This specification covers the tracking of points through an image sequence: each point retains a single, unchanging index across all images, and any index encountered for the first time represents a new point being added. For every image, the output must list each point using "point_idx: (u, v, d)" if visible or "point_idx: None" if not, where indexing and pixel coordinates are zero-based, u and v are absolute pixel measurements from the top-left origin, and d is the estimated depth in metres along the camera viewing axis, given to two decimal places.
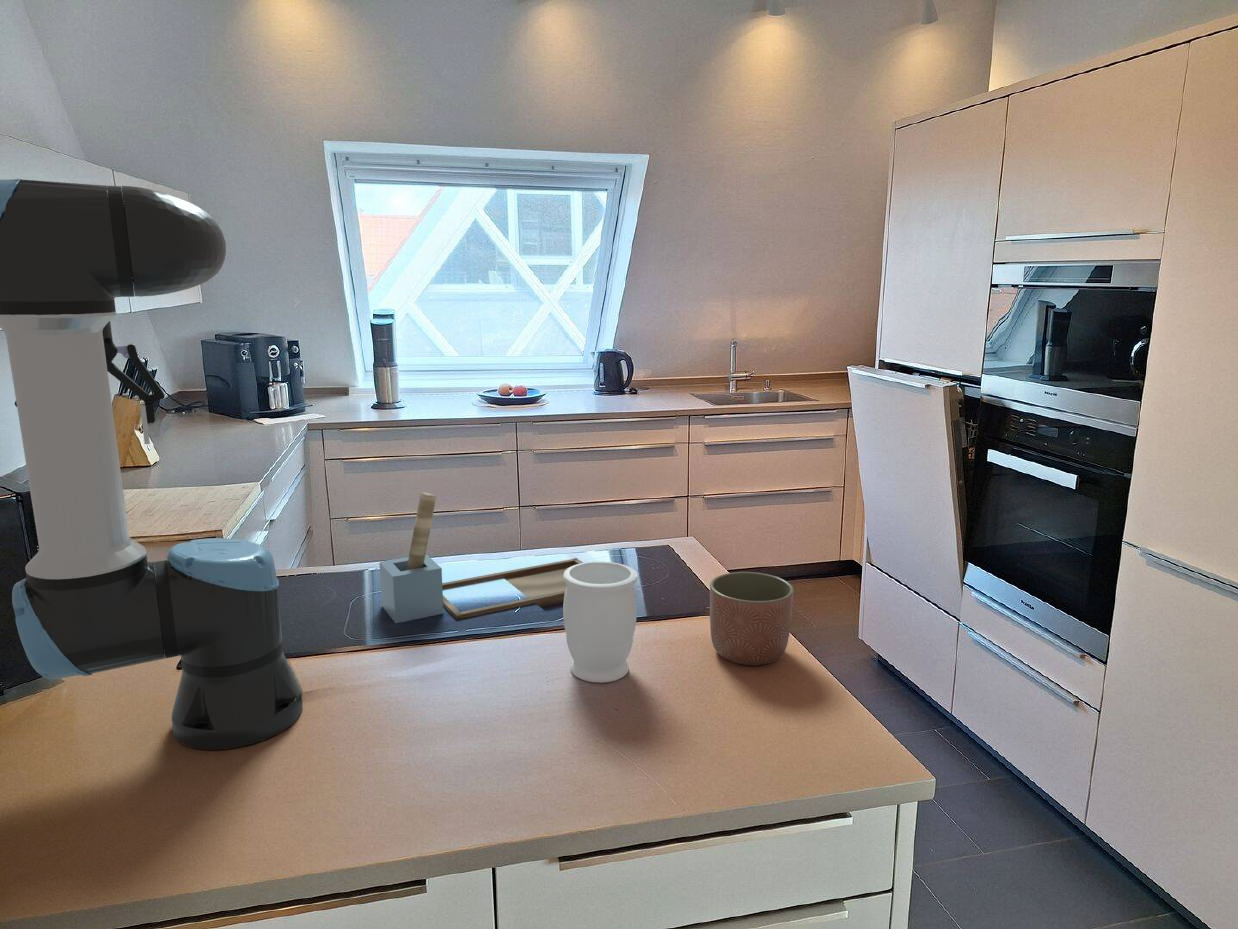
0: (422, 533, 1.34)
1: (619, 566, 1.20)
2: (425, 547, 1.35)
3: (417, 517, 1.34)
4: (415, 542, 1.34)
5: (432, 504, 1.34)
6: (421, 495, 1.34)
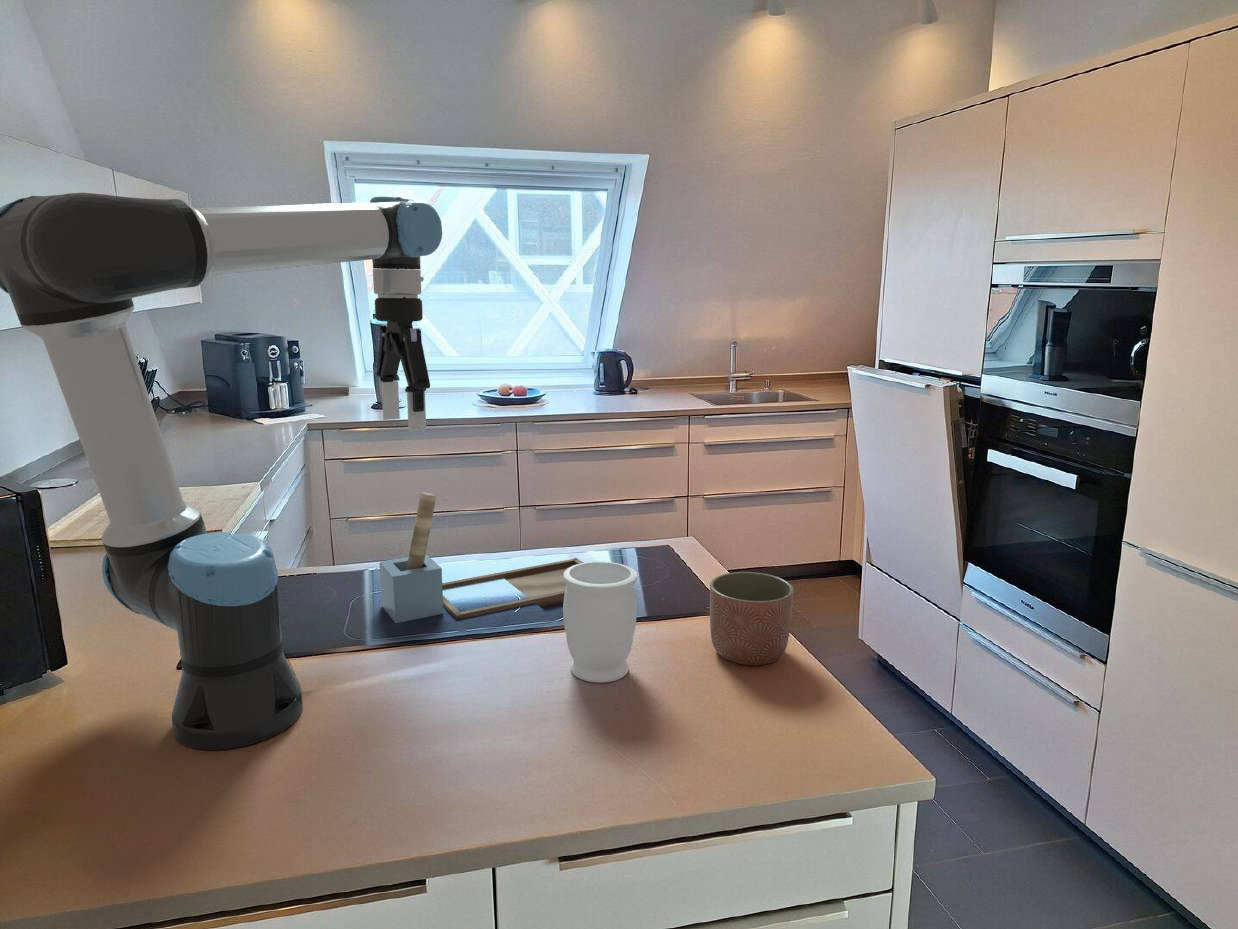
0: (422, 533, 1.34)
1: (619, 566, 1.20)
2: (425, 547, 1.35)
3: (417, 517, 1.34)
4: (415, 542, 1.34)
5: (432, 504, 1.34)
6: (421, 495, 1.34)
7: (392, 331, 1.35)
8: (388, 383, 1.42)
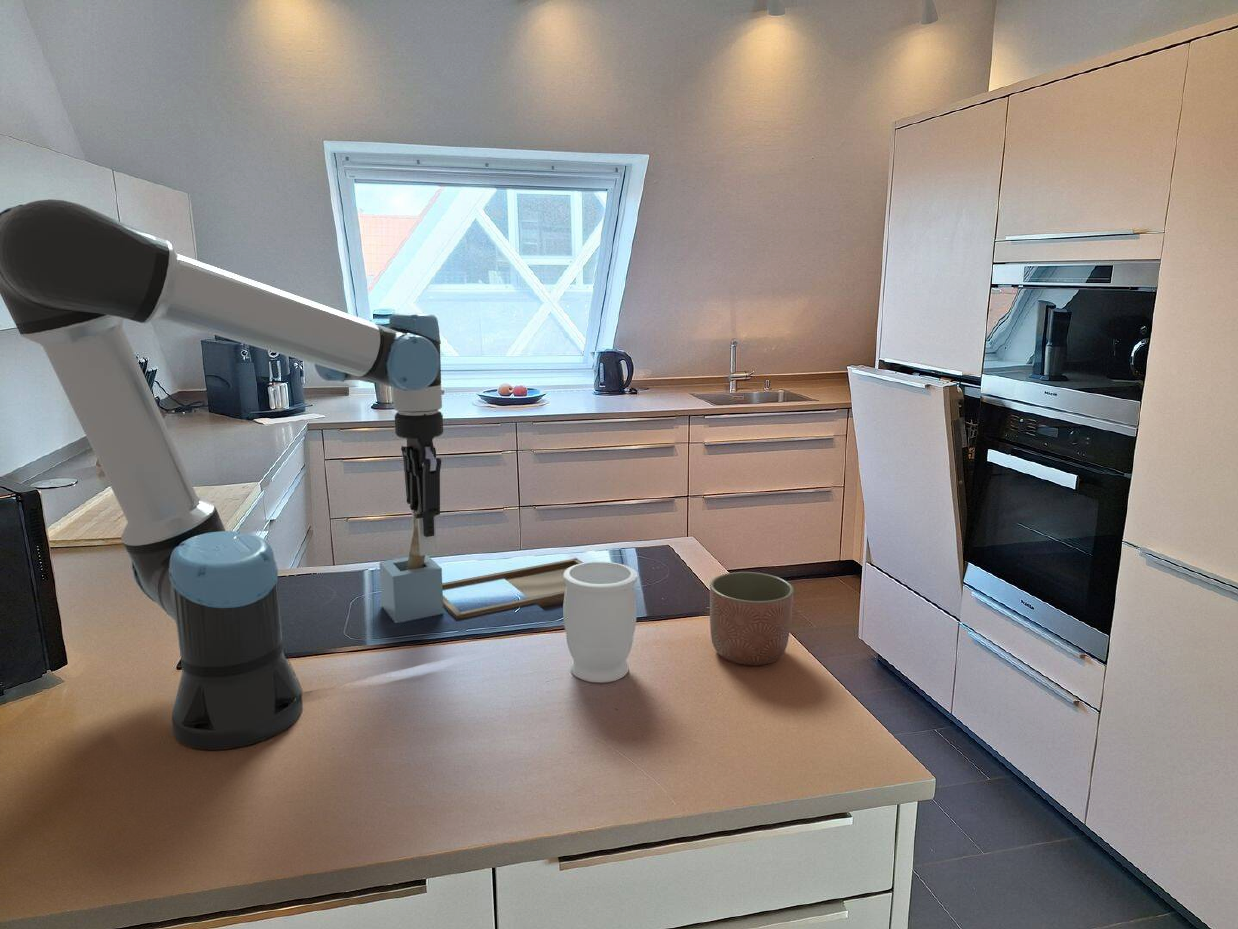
0: None
1: (619, 566, 1.20)
2: None
3: None
4: (415, 542, 1.34)
5: None
6: None
7: None
8: None
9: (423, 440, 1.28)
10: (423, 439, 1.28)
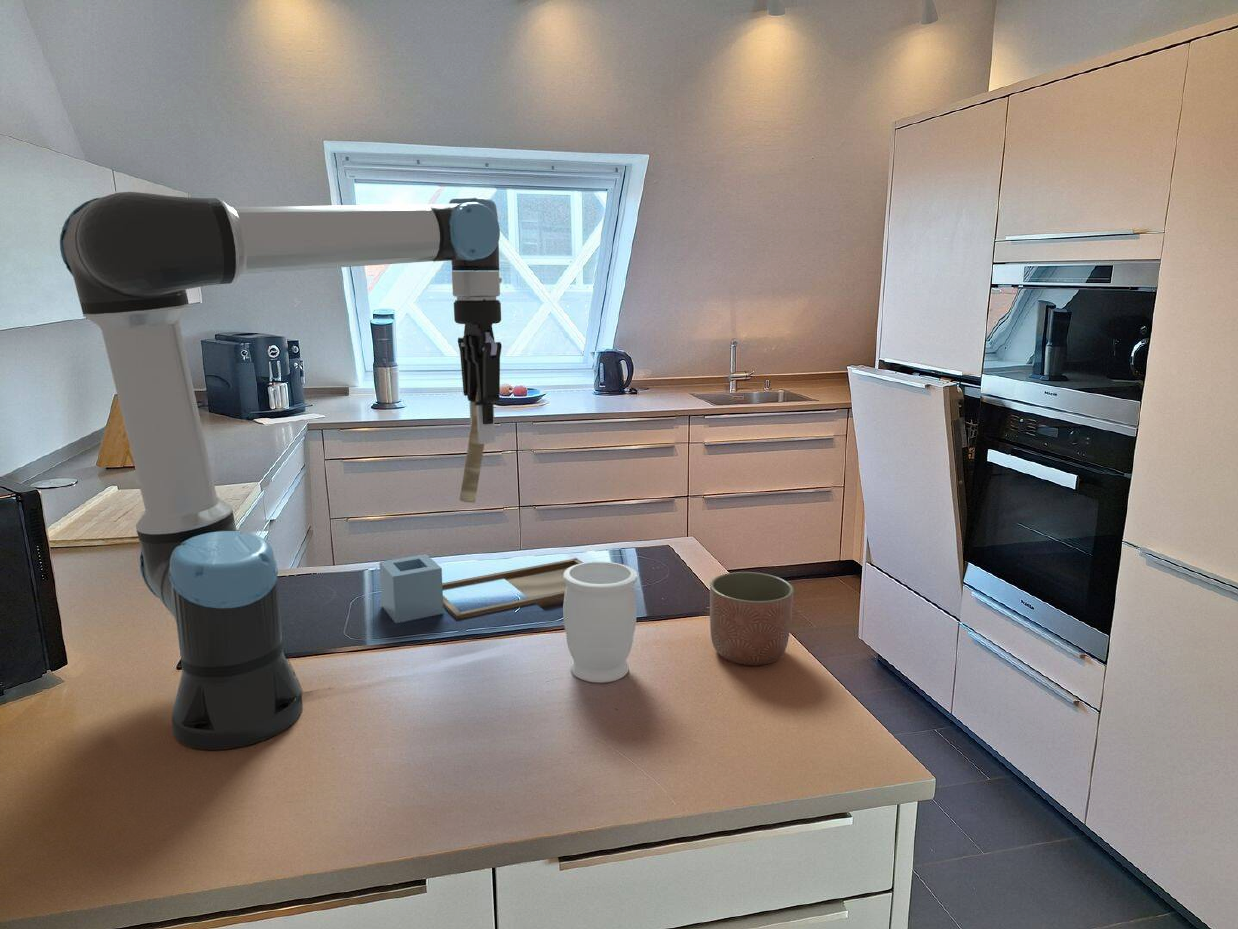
0: None
1: (619, 566, 1.20)
2: None
3: (476, 406, 1.36)
4: (474, 431, 1.36)
5: None
6: None
7: (469, 324, 1.33)
8: None
9: (483, 325, 1.30)
10: (483, 324, 1.30)
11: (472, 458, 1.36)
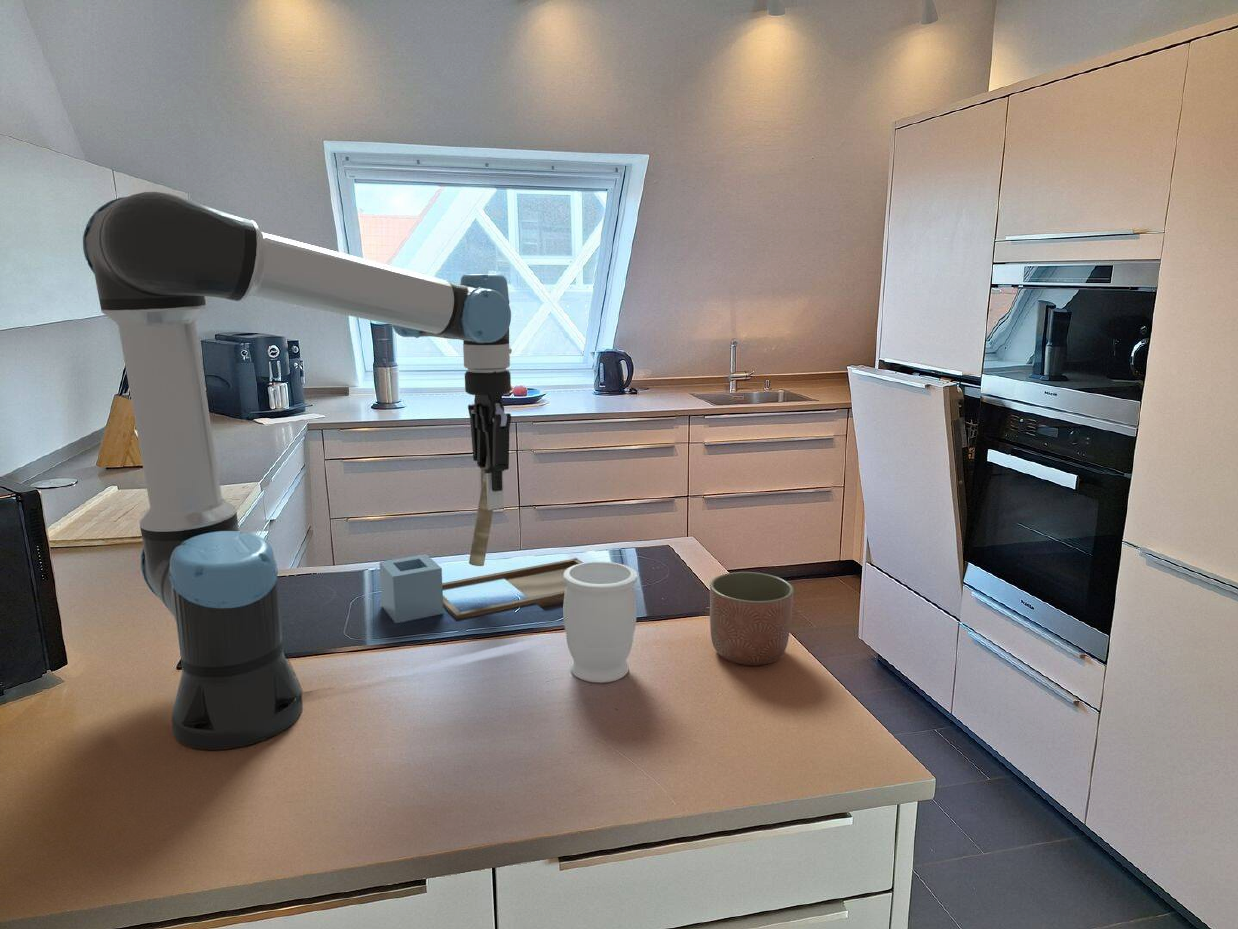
0: None
1: (619, 566, 1.20)
2: None
3: (485, 473, 1.39)
4: (483, 497, 1.39)
5: None
6: None
7: None
8: None
9: (493, 396, 1.33)
10: (493, 395, 1.33)
11: (482, 524, 1.39)
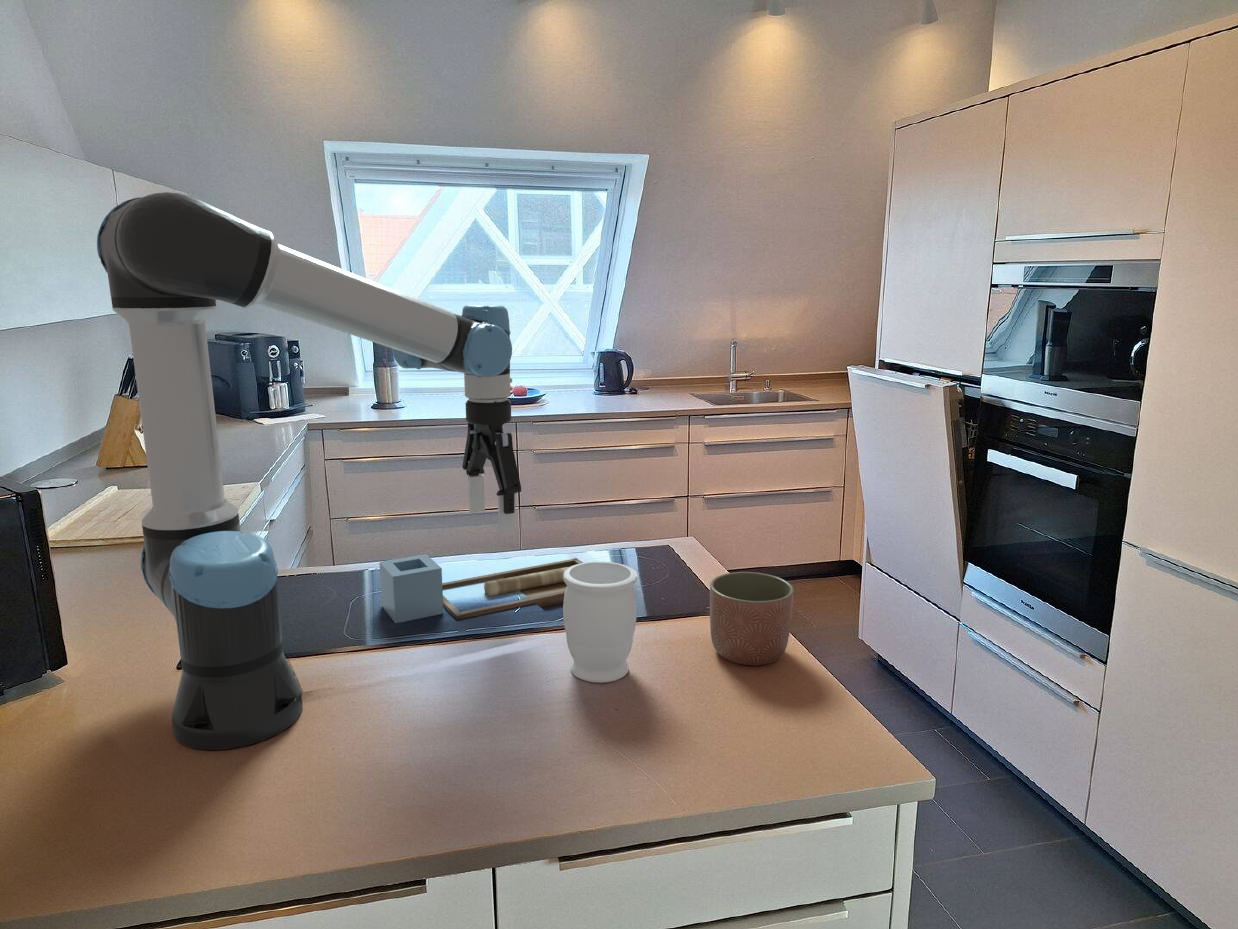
0: (560, 576, 1.49)
1: (619, 566, 1.20)
2: (548, 583, 1.48)
3: None
4: (550, 573, 1.49)
5: None
6: None
7: (482, 432, 1.38)
8: (474, 477, 1.45)
9: None
10: None
11: (527, 580, 1.46)
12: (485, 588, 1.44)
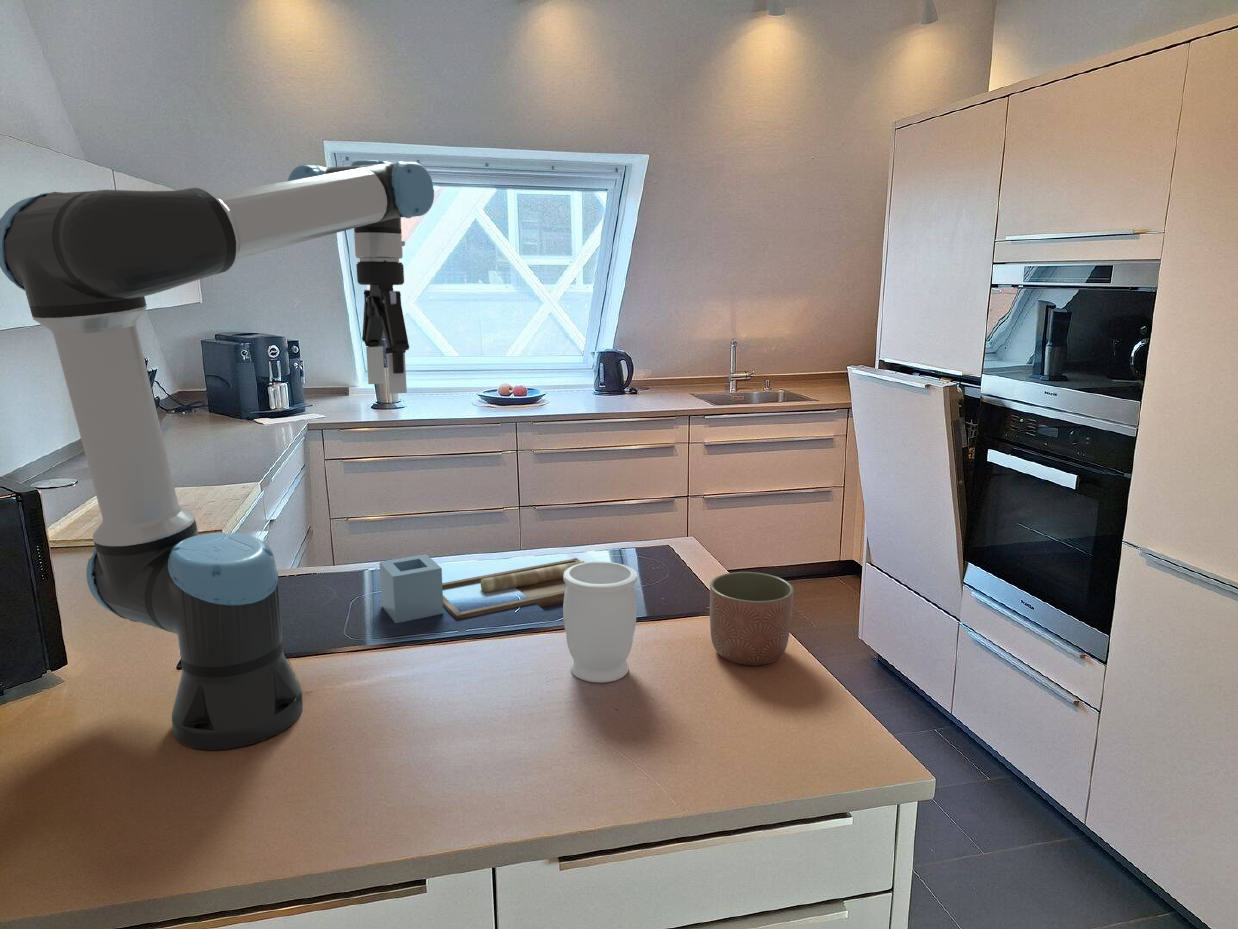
0: (553, 566, 1.51)
1: (619, 566, 1.20)
2: (543, 572, 1.50)
3: None
4: None
5: None
6: None
7: (374, 295, 1.37)
8: (373, 348, 1.44)
9: None
10: None
11: None
12: (483, 589, 1.45)
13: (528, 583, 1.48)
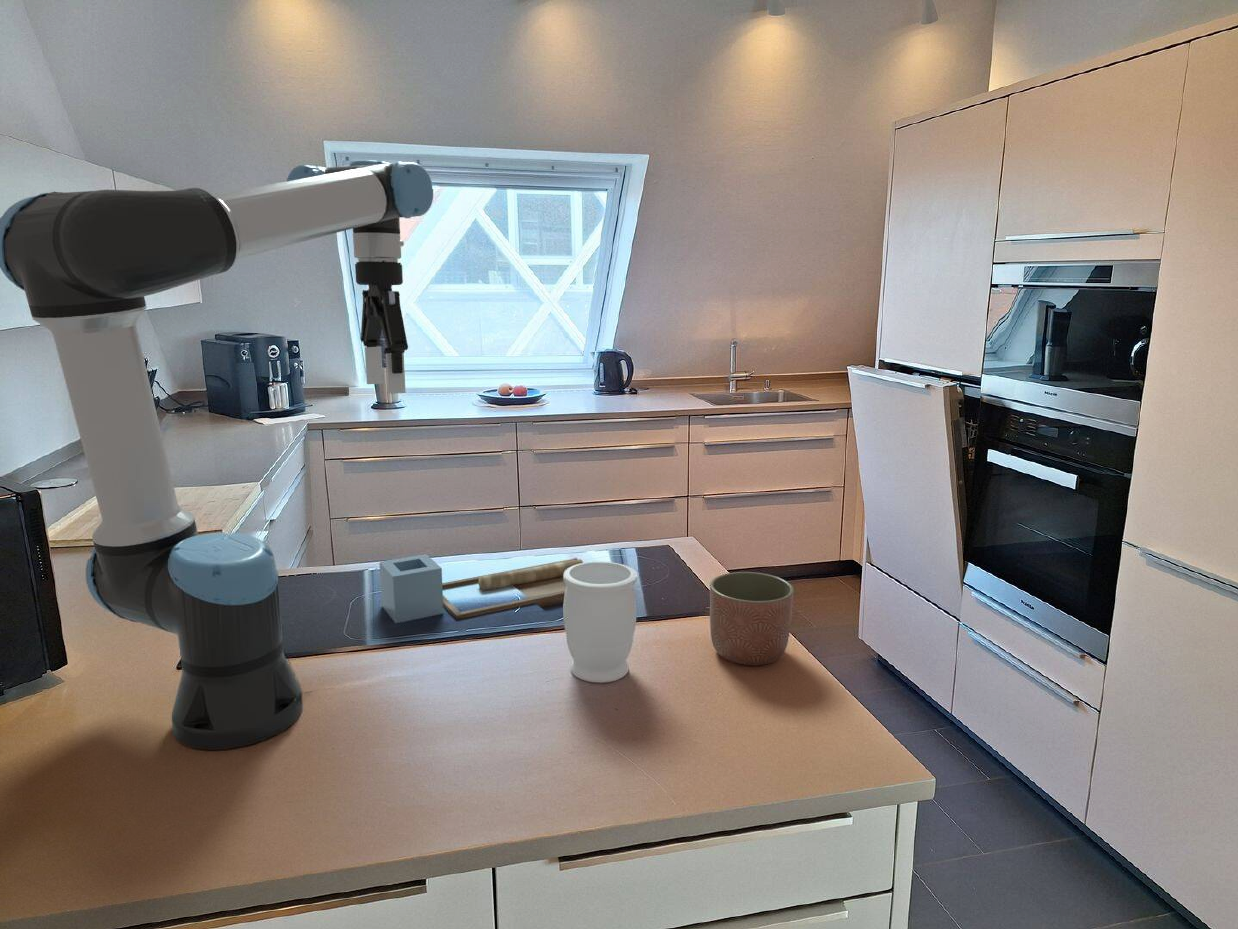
0: None
1: (619, 566, 1.20)
2: (539, 566, 1.51)
3: None
4: None
5: (573, 560, 1.55)
6: None
7: (373, 295, 1.37)
8: (371, 348, 1.44)
9: None
10: None
11: None
12: (481, 587, 1.46)
13: (526, 576, 1.49)
